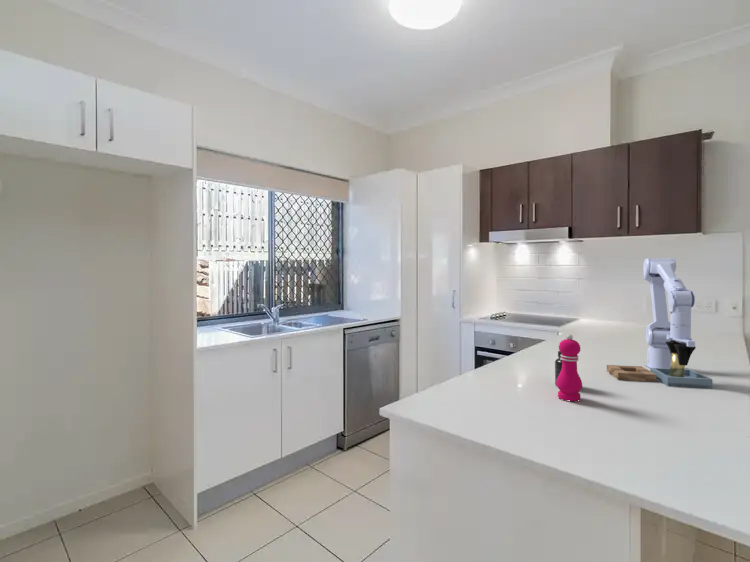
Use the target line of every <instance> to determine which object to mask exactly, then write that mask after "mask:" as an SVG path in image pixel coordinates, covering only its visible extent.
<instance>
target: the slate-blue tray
mask: <svg viewBox="0 0 750 562" xmlns="http://www.w3.org/2000/svg"><path fill="white" fill-rule="evenodd" d="M649 369H650V370H649V371H651V372H652V373H654V374H656V381H658V382H660V383H662V384H664V385H665V386H667V387H678V388H679V387H680V388H681V387H682V388H701V389H702V388H703V389H713V379H712V378H711V377H709V376H706V375H704V374H702V373H700V372H697V371H695V370H693V369H692V368H688V369H687V368H685V372H684V377H672V376H670V368H649Z"/></svg>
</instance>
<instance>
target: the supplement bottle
mask: <svg viewBox="0 0 750 562" xmlns="http://www.w3.org/2000/svg"><path fill="white" fill-rule="evenodd" d="M561 354H562V353H561V352H560V350H558V351H557V357H558V358H557V359H555V361H554V384H555V386H556V387H557V385H556V382H557V378H558V376H559V374H560V372H561V369H562V360H561V359H560V358H561V356H560V355H561Z"/></svg>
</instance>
